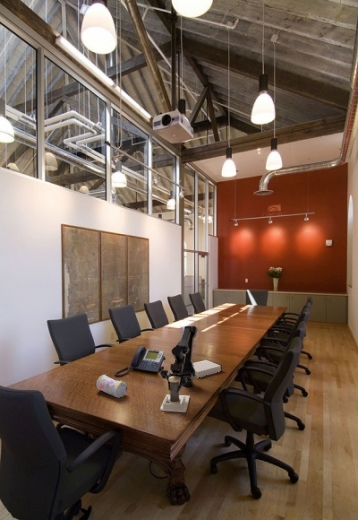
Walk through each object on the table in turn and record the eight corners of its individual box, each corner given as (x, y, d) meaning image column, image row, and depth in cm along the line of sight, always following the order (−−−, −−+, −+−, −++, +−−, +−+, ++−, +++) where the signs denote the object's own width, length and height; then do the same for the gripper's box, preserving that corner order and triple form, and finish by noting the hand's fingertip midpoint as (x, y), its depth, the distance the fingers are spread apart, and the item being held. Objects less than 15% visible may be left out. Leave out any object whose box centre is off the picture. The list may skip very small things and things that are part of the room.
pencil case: (128, 395, 167) (128, 379, 168) (117, 400, 160) (117, 384, 161) (106, 387, 180) (106, 372, 180) (95, 392, 173) (95, 376, 173)
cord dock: (166, 396, 164) (166, 390, 165) (189, 397, 162) (189, 391, 162) (160, 410, 148) (160, 403, 148) (185, 412, 145) (185, 405, 146)
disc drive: (222, 372, 204) (221, 365, 204) (197, 378, 192) (197, 371, 192) (207, 365, 219) (207, 359, 219) (183, 371, 207) (183, 364, 207)
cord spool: (168, 399, 155) (167, 376, 155) (179, 398, 156) (178, 375, 156) (170, 405, 148) (169, 381, 149) (181, 403, 150) (181, 379, 150)
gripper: (160, 355, 160) (153, 382, 149) (191, 358, 154) (186, 386, 143) (165, 365, 167) (159, 391, 156) (195, 367, 161) (191, 394, 150)
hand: (173, 390), depth 151 cm, fingers closed on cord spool, 5 cm apart
